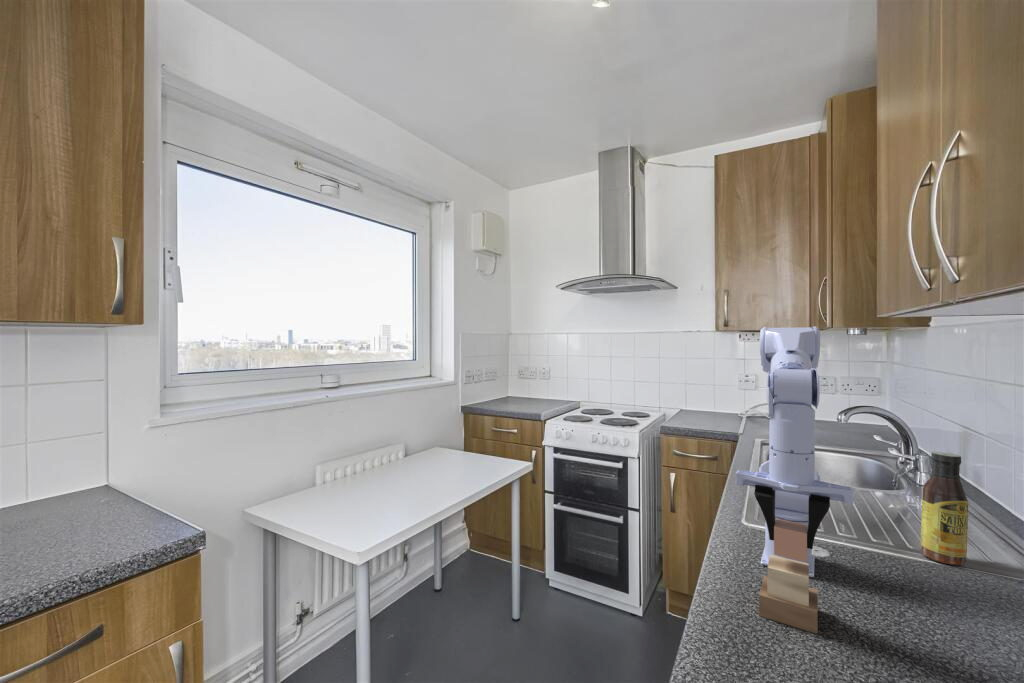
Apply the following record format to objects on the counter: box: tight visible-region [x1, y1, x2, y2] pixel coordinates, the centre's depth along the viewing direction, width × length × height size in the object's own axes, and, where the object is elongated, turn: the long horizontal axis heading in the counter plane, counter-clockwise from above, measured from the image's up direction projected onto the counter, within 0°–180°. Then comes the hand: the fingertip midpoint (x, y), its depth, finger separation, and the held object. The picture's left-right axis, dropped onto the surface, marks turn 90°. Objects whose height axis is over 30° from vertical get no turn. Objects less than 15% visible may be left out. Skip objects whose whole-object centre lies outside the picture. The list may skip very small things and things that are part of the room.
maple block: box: [767, 555, 810, 607], centre depth 65 cm, size 5×5×4 cm
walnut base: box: [758, 575, 819, 635], centre depth 65 cm, size 7×7×3 cm
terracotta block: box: [774, 519, 807, 562], centre depth 65 cm, size 4×4×4 cm
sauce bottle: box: [919, 451, 969, 566], centre depth 83 cm, size 7×6×20 cm
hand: (790, 542), depth 65 cm, fingers closed on terracotta block, 4 cm apart
